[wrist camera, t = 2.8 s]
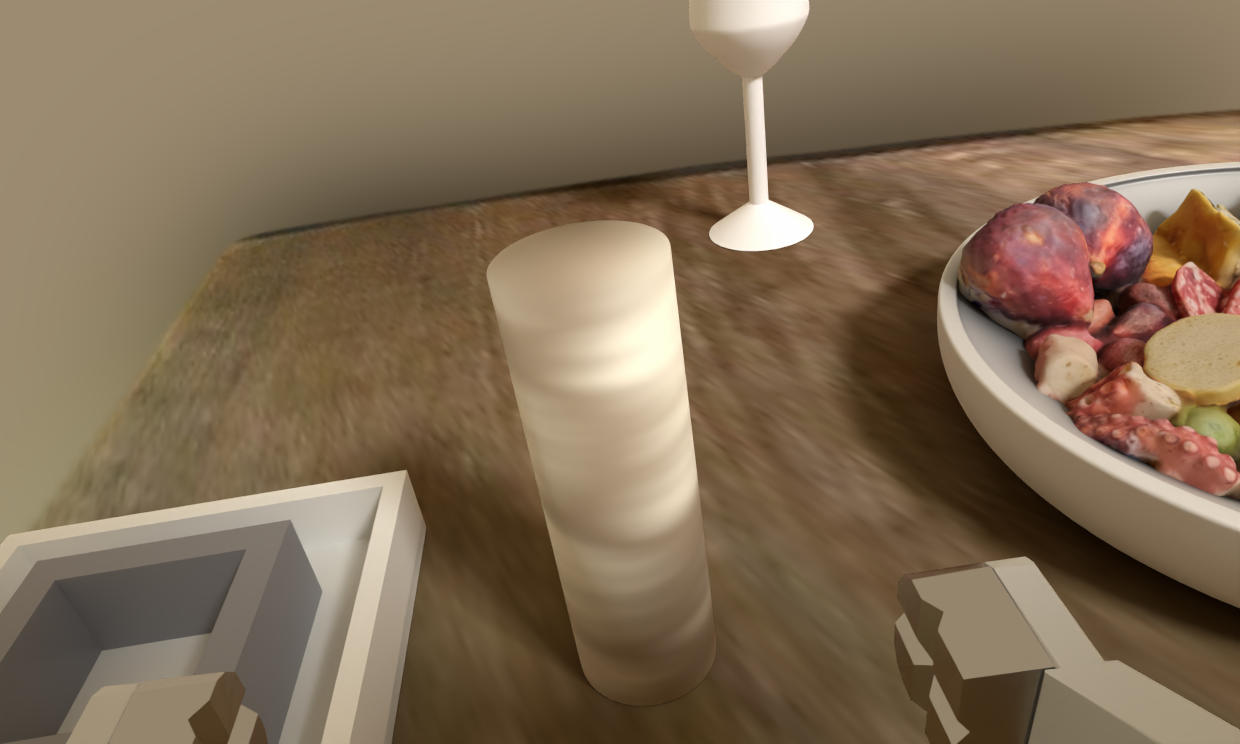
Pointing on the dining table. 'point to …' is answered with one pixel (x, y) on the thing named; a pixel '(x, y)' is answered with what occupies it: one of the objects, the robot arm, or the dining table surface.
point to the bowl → (1113, 360)
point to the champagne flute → (752, 107)
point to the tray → (220, 609)
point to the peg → (612, 449)
